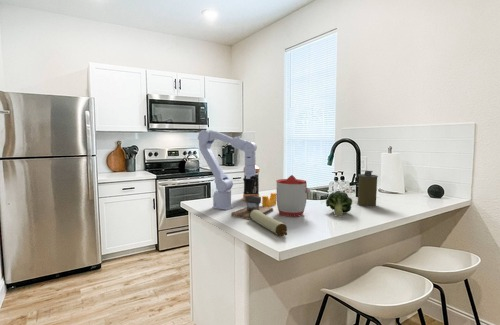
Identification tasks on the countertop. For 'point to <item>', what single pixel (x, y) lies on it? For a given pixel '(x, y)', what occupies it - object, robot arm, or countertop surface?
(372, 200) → the canister
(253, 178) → the robot arm
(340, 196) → the vegetable
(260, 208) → the base plate
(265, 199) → the pipe clamp
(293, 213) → the citrus juicer
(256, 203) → the twist cap
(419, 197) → the countertop surface
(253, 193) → the whiskey bottle
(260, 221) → the beige long cylinder
